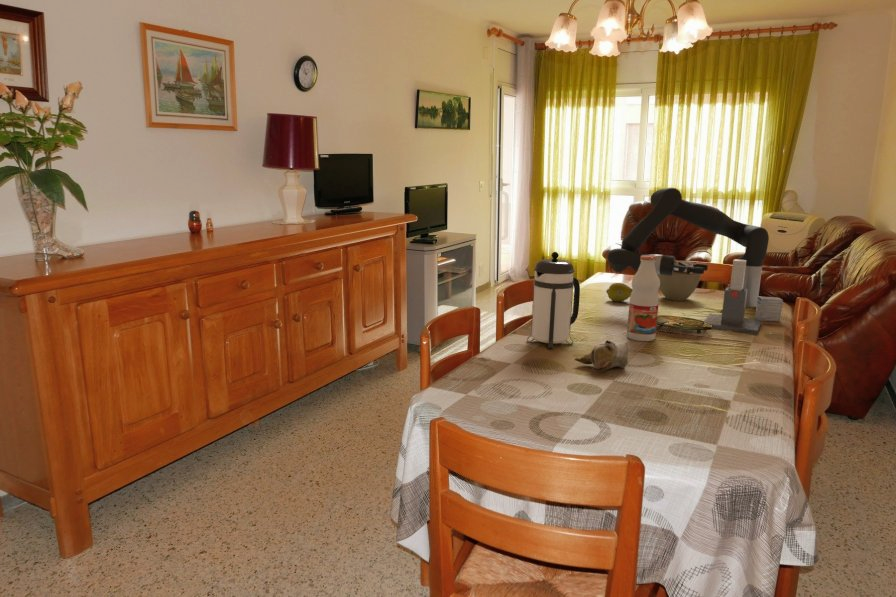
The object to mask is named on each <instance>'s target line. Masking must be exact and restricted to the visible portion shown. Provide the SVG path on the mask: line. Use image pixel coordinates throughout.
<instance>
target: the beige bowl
mask: <svg viewBox="0 0 896 597" xmlns="http://www.w3.org/2000/svg"><path fill="white" fill-rule="evenodd" d="M657 275H658V277H659V279H660V287H659V290H660V291H661V293H662V294H663V296H664V298H666V299H667V300H670V301H676V302H683V301H687V299H688V298H690V296H692V294H694V291H695V290H697V287H698V285H699V283H700V279H701V276H702V274H698V273H691V274H686V273H677V272H674V273H673V275H672V276H669V275H660V274H657Z"/></svg>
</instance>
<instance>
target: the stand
mask: <svg viewBox="0 0 896 597" xmlns="http://www.w3.org/2000/svg"><path fill="white" fill-rule="evenodd" d="M747 291H748V289H743V292H742V291H733V290H730V286H727V287H726V288H725V289H724V293H723V301H722V302H723V303H722V309H721V310H722V311H721V314H718V313H709V314H708V315H707V317H706V318H705V319H704V321H703V322H704V323H707V324H710V325H712V328H711V329H714V330H719V331H727V332H735V333H743V334H749V335H758V332H759V330H760V327H761V324H762V321H761V320H758V319H756V318H749V317H745V315H746V314H745V313H746V308H747V307H746V299H747Z"/></svg>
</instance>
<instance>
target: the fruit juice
mask: <svg viewBox="0 0 896 597" xmlns="http://www.w3.org/2000/svg"><path fill="white" fill-rule="evenodd" d="M655 260H656V257H655V256H650V255H642V256H641V257H640V261H641V264H640V266H639V269H638V271H636V273H635V274H634V275H633V277H632V280H631V289H632V293H631V295H630V297H629V302H628V304H629V306H628V314H627V325H626V326H627V327H626V336H627V339H630V340H633V341H638V342H652V341H654V340H655V338H656V335H657V327H658V326H657V325H658V324H657V323H658V315H659V305H660V296H659V290H660V279H659V277H658V275H657V273H656V269H655V264H654V263H655Z"/></svg>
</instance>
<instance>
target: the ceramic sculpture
mask: <svg viewBox="0 0 896 597" xmlns="http://www.w3.org/2000/svg"><path fill="white" fill-rule="evenodd" d="M629 345H630V344H629V342H624V343H619V344H616V343H614V342H613V341H611V340H605V342H604V343H602V344H597V345H594V347H593V348H592V350H591V351H590V353H588V354H585V355H583V356H582V357H580V358H577V357H576V358H574V361H576V362H578V363H581V364H584V365H593V367H592V371H596V372H599V373H602V372H603V373H604V372H605V371H607V370H610V369H612V368H615V367H617V368H622V369H624V368H626V366H627V365H628V360H629V348H630V347H629Z"/></svg>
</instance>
